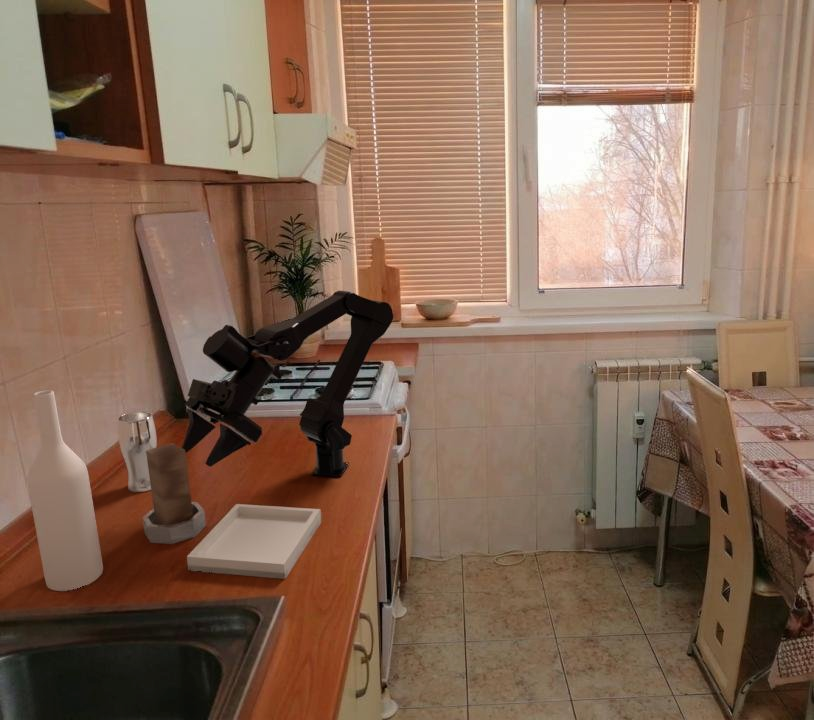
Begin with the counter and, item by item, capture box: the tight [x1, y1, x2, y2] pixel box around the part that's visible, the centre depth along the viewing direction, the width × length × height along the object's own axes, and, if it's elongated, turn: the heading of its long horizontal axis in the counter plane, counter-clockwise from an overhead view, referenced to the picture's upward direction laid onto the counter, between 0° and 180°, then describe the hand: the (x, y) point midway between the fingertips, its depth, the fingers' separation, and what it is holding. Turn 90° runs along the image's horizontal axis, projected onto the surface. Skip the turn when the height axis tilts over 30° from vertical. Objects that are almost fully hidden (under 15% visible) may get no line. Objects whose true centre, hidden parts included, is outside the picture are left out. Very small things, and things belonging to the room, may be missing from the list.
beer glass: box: [116, 410, 158, 493], centre depth 132 cm, size 7×7×15 cm
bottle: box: [26, 389, 104, 592], centre depth 98 cm, size 8×8×30 cm
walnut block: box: [146, 442, 193, 526], centre depth 114 cm, size 5×5×15 cm
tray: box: [186, 503, 322, 580], centre depth 109 cm, size 18×16×2 cm
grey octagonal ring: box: [142, 501, 207, 545], centre depth 115 cm, size 10×10×3 cm
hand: (195, 458), depth 116 cm, fingers open, 9 cm apart
